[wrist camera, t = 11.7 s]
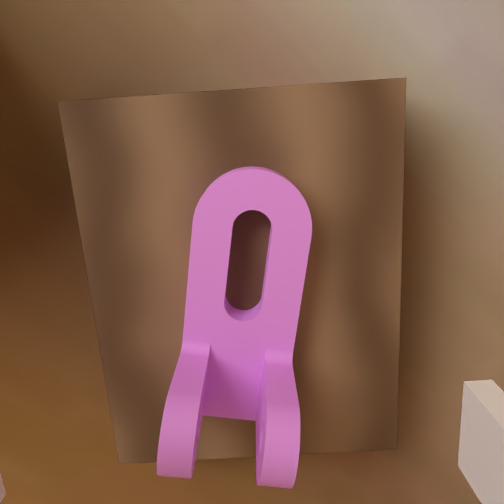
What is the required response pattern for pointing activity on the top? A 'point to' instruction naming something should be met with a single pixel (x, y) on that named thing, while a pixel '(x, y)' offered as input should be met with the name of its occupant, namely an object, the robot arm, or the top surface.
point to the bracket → (240, 330)
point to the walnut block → (246, 248)
